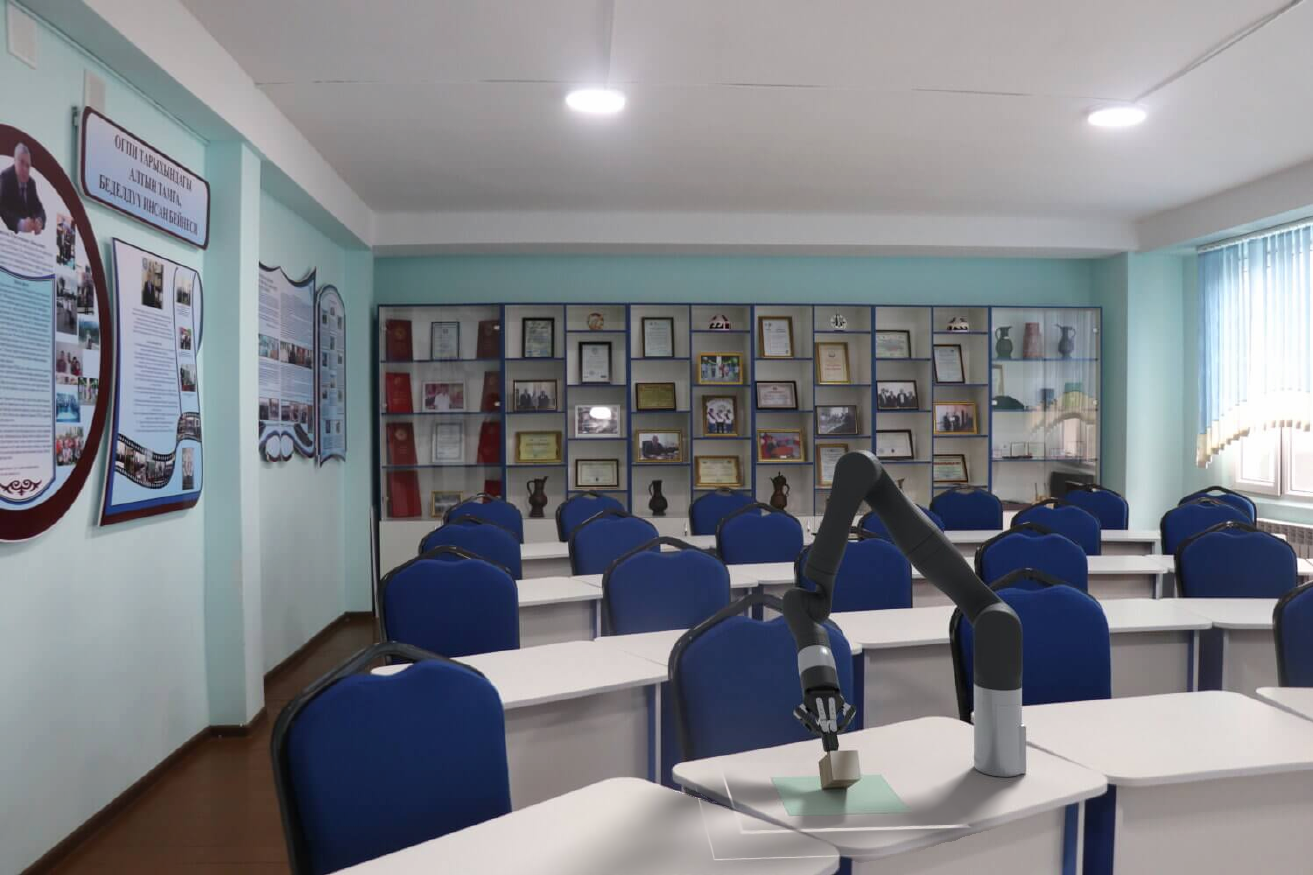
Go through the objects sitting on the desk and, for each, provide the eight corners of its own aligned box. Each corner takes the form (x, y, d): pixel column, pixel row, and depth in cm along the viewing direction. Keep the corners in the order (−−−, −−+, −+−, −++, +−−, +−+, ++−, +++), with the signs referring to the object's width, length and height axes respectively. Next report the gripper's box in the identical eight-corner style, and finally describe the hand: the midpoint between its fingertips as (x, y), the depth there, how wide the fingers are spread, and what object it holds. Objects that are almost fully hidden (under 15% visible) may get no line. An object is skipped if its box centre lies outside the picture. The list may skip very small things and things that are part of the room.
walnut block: (844, 761, 187) (857, 750, 177) (847, 788, 185) (861, 778, 174) (818, 761, 187) (830, 750, 177) (821, 789, 184) (833, 779, 174)
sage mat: (880, 776, 192) (880, 774, 192) (911, 814, 173) (911, 812, 173) (770, 779, 191) (770, 777, 191) (789, 818, 172) (789, 815, 172)
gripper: (788, 664, 195) (800, 744, 183) (853, 662, 196) (869, 742, 184) (783, 683, 200) (795, 762, 188) (846, 682, 201) (862, 761, 189)
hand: (832, 752), depth 186 cm, fingers closed
